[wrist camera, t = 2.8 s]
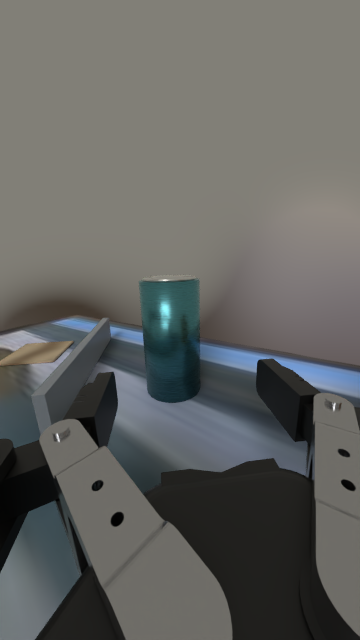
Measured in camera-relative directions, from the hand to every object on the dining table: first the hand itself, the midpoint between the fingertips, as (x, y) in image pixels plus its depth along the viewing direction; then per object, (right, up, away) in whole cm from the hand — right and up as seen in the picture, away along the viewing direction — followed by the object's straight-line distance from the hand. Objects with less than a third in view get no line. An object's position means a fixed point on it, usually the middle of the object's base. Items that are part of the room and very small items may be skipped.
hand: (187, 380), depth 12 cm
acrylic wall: (-13, -3, +17) cm, 22 cm away
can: (-1, -4, +13) cm, 14 cm away
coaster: (-23, -2, +23) cm, 33 cm away
